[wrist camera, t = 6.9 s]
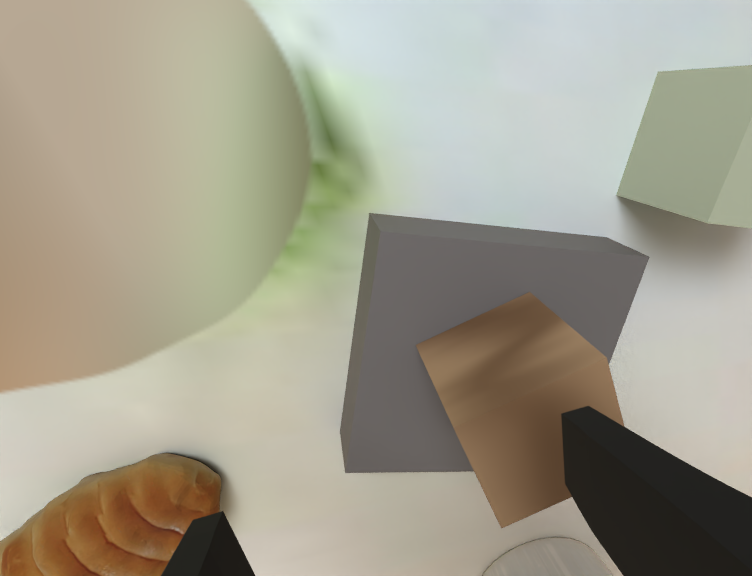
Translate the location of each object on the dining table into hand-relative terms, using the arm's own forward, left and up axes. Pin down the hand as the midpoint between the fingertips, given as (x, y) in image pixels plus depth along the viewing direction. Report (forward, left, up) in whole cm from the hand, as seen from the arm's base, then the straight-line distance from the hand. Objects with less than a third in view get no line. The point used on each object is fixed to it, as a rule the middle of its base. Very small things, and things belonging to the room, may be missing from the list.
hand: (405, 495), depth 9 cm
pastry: (+9, +11, -10) cm, 18 cm away
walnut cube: (-5, +1, -7) cm, 9 cm away
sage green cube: (-12, -8, -10) cm, 17 cm away
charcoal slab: (-5, +1, -10) cm, 11 cm away
